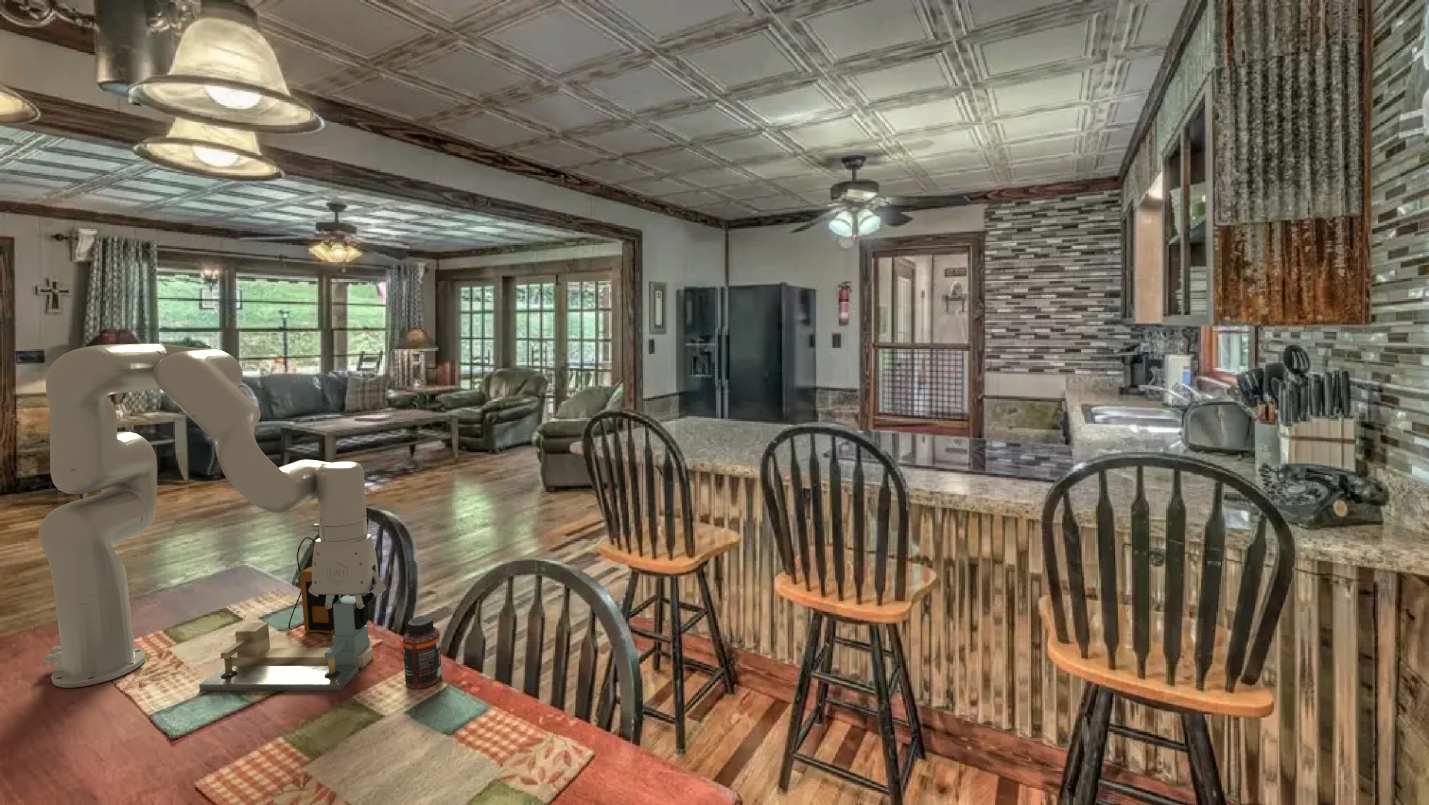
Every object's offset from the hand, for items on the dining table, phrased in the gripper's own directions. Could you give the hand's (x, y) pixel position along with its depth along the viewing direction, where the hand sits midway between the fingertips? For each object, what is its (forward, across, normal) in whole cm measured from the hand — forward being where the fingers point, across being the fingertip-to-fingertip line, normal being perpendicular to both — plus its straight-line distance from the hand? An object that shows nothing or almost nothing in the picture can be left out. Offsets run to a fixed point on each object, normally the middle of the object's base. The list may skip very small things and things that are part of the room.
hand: (349, 625), depth 122 cm
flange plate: (+7, -9, -6) cm, 13 cm away
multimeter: (+8, -12, +16) cm, 22 cm away
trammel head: (+7, 0, -2) cm, 7 cm away
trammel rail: (+7, -9, -3) cm, 12 cm away
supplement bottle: (+7, +16, -6) cm, 19 cm away
